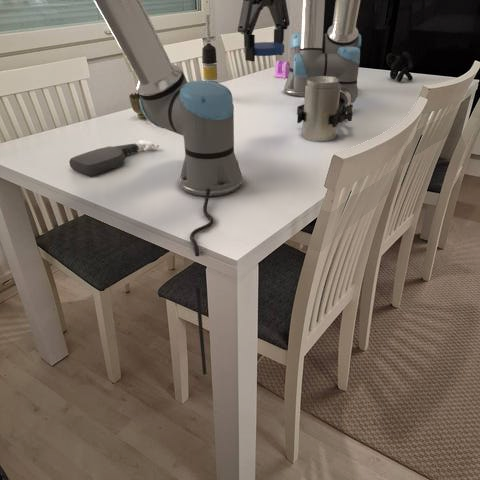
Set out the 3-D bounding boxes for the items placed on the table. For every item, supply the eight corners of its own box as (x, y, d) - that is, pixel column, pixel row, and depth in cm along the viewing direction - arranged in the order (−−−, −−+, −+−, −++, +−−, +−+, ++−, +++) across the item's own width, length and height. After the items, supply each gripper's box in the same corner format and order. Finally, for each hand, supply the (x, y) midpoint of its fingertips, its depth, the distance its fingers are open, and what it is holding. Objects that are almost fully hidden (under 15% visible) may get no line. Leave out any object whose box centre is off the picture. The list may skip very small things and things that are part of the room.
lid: (284, 48, 127) (284, 42, 126) (283, 55, 118) (283, 48, 117) (246, 49, 128) (246, 42, 127) (242, 56, 119) (242, 48, 118)
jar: (295, 135, 140) (298, 79, 131) (317, 128, 145) (321, 74, 136) (320, 143, 133) (325, 85, 124) (342, 136, 139) (348, 79, 130)
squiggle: (400, 92, 202) (376, 71, 205) (417, 76, 202) (392, 56, 205) (405, 81, 191) (380, 59, 194) (423, 64, 191) (397, 42, 194)
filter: (220, 99, 177) (217, 15, 161) (206, 100, 176) (202, 16, 160) (215, 96, 182) (212, 14, 166) (202, 97, 180) (197, 14, 164)
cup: (127, 118, 157) (124, 95, 153) (141, 113, 163) (138, 90, 159) (144, 121, 154) (141, 97, 150) (157, 115, 160) (154, 92, 156)
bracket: (285, 77, 208) (285, 62, 204) (275, 76, 211) (275, 60, 207) (299, 72, 216) (300, 57, 213) (289, 71, 219) (290, 56, 216)
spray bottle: (67, 168, 120) (139, 144, 136) (91, 178, 114) (163, 151, 130) (65, 157, 118) (137, 134, 134) (89, 167, 112) (162, 142, 128)
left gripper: (243, -35, 103) (244, 65, 115) (305, -37, 117) (301, 53, 129) (221, -34, 108) (224, 62, 119) (283, -37, 121) (281, 50, 133)
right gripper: (369, 117, 147) (352, 137, 130) (303, 109, 156) (280, 128, 139) (372, 94, 143) (355, 112, 126) (305, 87, 152) (280, 103, 135)
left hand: (264, 57), depth 124 cm, fingers closed on lid, 11 cm apart
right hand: (316, 120), depth 133 cm, fingers closed on jar, 10 cm apart
